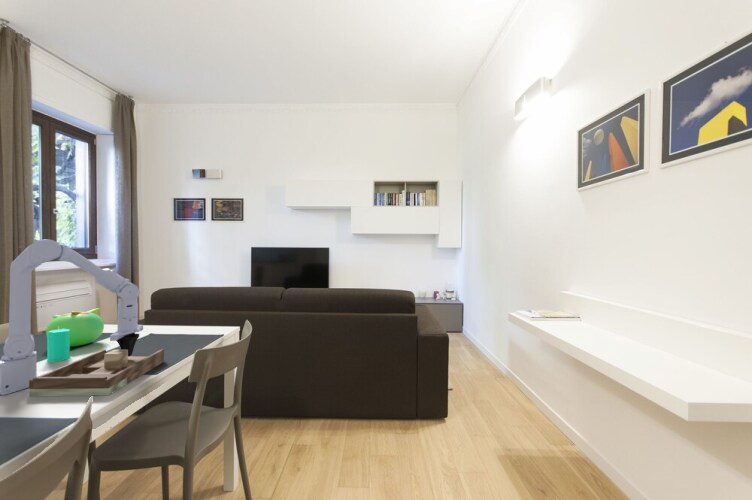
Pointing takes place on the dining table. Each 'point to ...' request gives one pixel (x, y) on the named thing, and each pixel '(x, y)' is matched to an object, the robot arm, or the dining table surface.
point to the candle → (58, 345)
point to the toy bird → (79, 326)
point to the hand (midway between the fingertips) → (127, 355)
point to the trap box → (92, 376)
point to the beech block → (115, 358)
